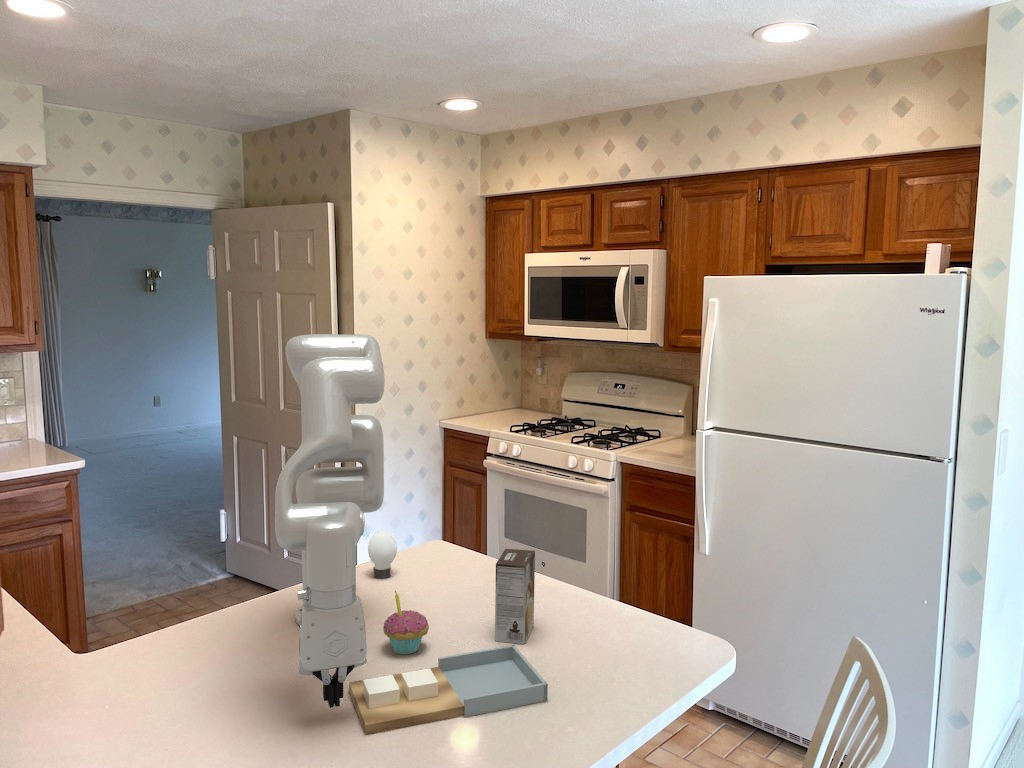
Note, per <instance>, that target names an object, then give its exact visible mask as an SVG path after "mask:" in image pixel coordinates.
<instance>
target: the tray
mask: <svg viewBox="0 0 1024 768" xmlns="http://www.w3.org/2000/svg"><path fill="white" fill-rule="evenodd" d="M437 659H438V660H437V662H438V663H437V667H440V669H441V670H442V672H443V674H444V675H445V677H446V678H447V680H448V682H449V683H450V685H451V686H452V688H453V690H454V691H455V693H456V694H457V696H458V697H459V699H460V701H461V702H462V704H463V705H464V715H463V717H464V718H467V717H473V716H478V715H484V714H488V713H493V712H494V713H495V712H497V711H503V710H509V709H513V708H517V707H523V706H528V705H533V704H539V703H543V702H547V701H548V690H549V689H548V688H549V687H548V686H549V684H548V682H547V681H546V680H545V679H544V678H543V676H542V675H541V674H540V673H539V672H538V671H537V669H535V668H534V666H533V665H532V664H531V663H530V661H528V659H527V658H526V657H525V656H524V655H523V653H522V652H521V651H520V650H519V649H518V648H517V646H516V645H514V644H512V645H511V644H510V645H506V646H499V647H494V648H493V647H492V648H488V649H482V650H475V651H470V652H465V653H459V654H453V655H447V656H441V657H437Z"/></svg>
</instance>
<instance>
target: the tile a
mask: <svg viewBox="0 0 1024 768" xmlns="http://www.w3.org/2000/svg"><path fill="white" fill-rule="evenodd" d="M393 675H394V674H389V675H383V677H382V676H378V677H377V678H376V677H370V678H371V679H370V678H366V679H362V680H363V695H364V697H365V700H366V702H367V704H368V707H369V709H370V708H376V707H381V706H386V705H392V704H397V703H400V689H399V687H398V685H397V683H396V681H395V679H394V677H393Z"/></svg>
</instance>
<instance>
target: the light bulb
mask: <svg viewBox="0 0 1024 768" xmlns="http://www.w3.org/2000/svg"><path fill="white" fill-rule="evenodd" d="M397 551H398V546H397V541H396V538H395V537H394V536H393V534H392V533H390V532H389V531H388V530H387V531H386V530H379V531H377V532H375V533H374V534H373V535H372V536H371V537H370V540H369V541H368V548H367V552H368V557H369V560H370V561H371V562H372V563H373V565H374V566H373V570H372V573H373V577H374V578H376V579H379V580H380V579H382V580H385V579H389V578H391V576H392V575H391V572H392V567H391V565H392V563H393V562H394V560H395V558H396V557H397Z"/></svg>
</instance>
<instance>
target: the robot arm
mask: <svg viewBox="0 0 1024 768" xmlns="http://www.w3.org/2000/svg"><path fill="white" fill-rule="evenodd" d="M285 355H286V357H285V358H286V362H287V365H288V368H289V370H290V372H291V375H292V377H293V378H294V381H295V382H296V385H297V387H298V390H299V393H300V405H301V406H300V409H301V410H300V411H301V444H300V445H299V448H298V449H297V450H296V451H295V452H294V453H293V454H292V455H291V456H290V458H289V459H288V460H287V462H286V463H285V465H284V466H283V468H282V470H281V472H280V473H279V476H278V479H277V483H276V486H275V491H274V492H275V495H274V503H275V504H274V514H275V515H274V529H275V530H274V531H275V538H276V541H277V543H278V545H279V546H280V547H281V549H283V550H285V551H292V552H293V551H295V552H296V551H301V572H302V574H301V576H302V578H301V579H302V590H298V591H297V600H299V601H300V600H302V606H301V607H300V608H299V609H298V610H297V611H296V612H295V614H294V615H295V617H294V619H295V623H296V624H297V625H299V638H298V639H299V640H298V641H299V642H298V643H299V644H298V649H299V654H298V655H299V657H300V659H299V663H298V667H297V670H298V674H299V675H302V676H313V677H314V678H317V679H318V680H320V681H321V682H322V696H323V701H324V702H327V703H328V704H327V705H328V706H329V709H333V708H334V707H337V708H338V707H340V706H341V699H343V698H344V682H345V681H346V678H347V677H348V675H349V674H351V672H352V671H353V670H354V669H355V668H359V667H361V666H364V665H365V664H367V662H368V660H367V655H368V650H367V649H368V648H367V645H368V644H367V634H366V632H367V631H366V621H365V612H364V607H363V603H362V601H361V598H360V597H359V596H357V582H356V581H357V574H356V573H357V567H356V566H357V565H356V564H357V563H356V561H357V560H356V554H357V553H356V551H357V550H356V546H357V544H359V541H360V539H361V537H362V536H364V532H365V526H366V525H365V523H366V521H365V515H364V514H367V513H373V512H376V511H378V510H380V509H381V507H383V502H384V499H385V498H384V496H385V467H384V466H385V464H384V463H385V460H384V456H385V453H384V451H385V450H384V449H385V448H384V446H385V444H384V434H383V433H384V432H383V431H384V430H383V428H382V424H381V422H380V420H379V419H378V418H377V417H375V416H373V415H370V414H352V407H351V405H360V404H361V405H363V404H364V405H366V404H367V405H369V404H377V403H378V402H380V401H381V400H382V399H383V395H384V391H385V386H386V385H385V371H384V364H383V358H382V354H381V348H380V345H379V342H378V340H377V339H376V338H375V337H374V336H372V335H370V334H362V333H361V334H354V333H353V334H347V333H346V334H337V333H335V334H334V333H318V334H317V333H316V334H315V333H313V334H300V335H297V336H293V337H291V338H290V339H289V340H287V343H286V346H285ZM332 463H333V464H334V463H335V464H336V463H338V464H339V463H359V464H360V465H361V466H342V467H341V466H338V467H337V466H333V467H317V468H313V467H314V466H316V465H318V464H332ZM311 468H312V469H311ZM294 487H295V493H296V494H295V495H296V500H297V503H296V504H295V503H293V491H294ZM333 669H335V672H334V673H333V676H332V675H331V673H330V670H333Z"/></svg>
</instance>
